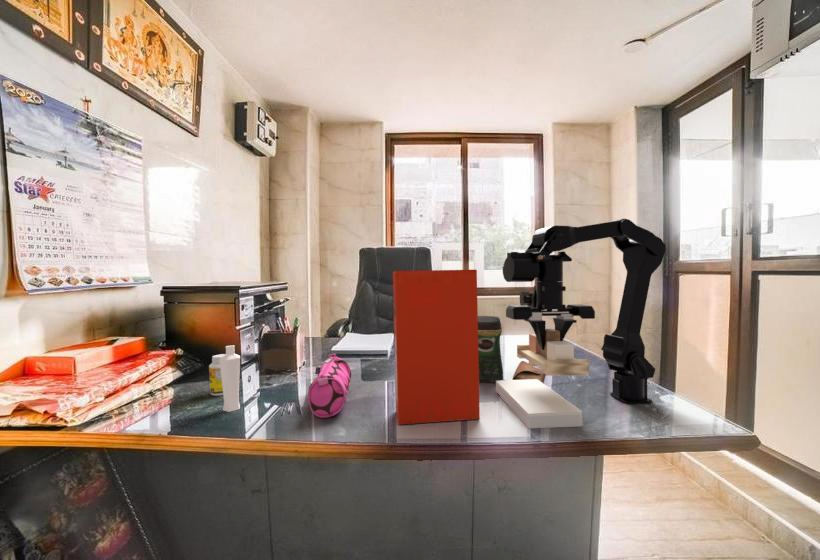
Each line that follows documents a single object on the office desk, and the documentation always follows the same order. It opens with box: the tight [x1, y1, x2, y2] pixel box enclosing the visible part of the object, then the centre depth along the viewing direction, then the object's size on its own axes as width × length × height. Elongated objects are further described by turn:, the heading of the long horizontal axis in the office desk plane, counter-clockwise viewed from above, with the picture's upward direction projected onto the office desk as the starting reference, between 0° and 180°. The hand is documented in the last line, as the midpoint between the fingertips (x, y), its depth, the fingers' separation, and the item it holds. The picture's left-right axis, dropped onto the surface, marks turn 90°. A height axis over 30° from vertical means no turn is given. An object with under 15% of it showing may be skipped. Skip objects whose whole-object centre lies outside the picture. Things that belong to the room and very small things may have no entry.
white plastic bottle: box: [219, 344, 241, 413], centre depth 84 cm, size 5×4×15 cm
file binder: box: [392, 269, 481, 425], centre depth 78 cm, size 8×17×32 cm, turn 97°
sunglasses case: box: [511, 360, 546, 384], centre depth 103 cm, size 18×7×7 cm
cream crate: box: [547, 340, 575, 360], centre depth 76 cm, size 4×4×4 cm
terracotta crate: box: [528, 333, 539, 353], centre depth 86 cm, size 4×4×4 cm
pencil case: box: [307, 353, 352, 419], centre depth 87 cm, size 21×10×10 cm, turn 8°
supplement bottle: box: [208, 353, 226, 397], centre depth 96 cm, size 6×6×10 cm
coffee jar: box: [478, 315, 504, 383], centre depth 104 cm, size 10×8×19 cm
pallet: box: [516, 328, 590, 377], centre depth 81 cm, size 9×17×8 cm, turn 3°
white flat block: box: [495, 379, 583, 430], centre depth 82 cm, size 11×22×3 cm, turn 3°
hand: (549, 349), depth 81 cm, fingers closed on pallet, 3 cm apart
